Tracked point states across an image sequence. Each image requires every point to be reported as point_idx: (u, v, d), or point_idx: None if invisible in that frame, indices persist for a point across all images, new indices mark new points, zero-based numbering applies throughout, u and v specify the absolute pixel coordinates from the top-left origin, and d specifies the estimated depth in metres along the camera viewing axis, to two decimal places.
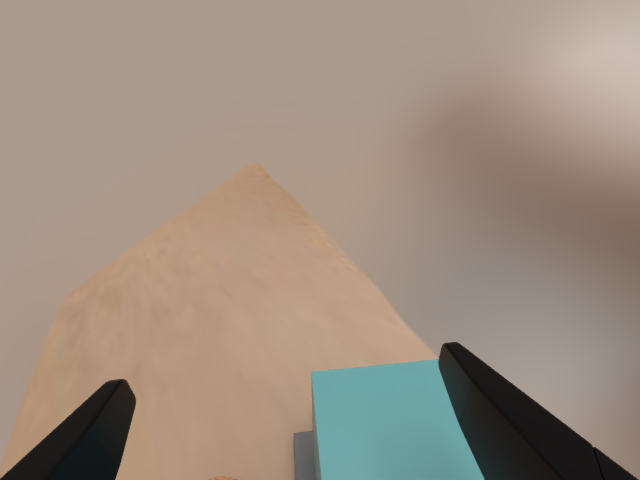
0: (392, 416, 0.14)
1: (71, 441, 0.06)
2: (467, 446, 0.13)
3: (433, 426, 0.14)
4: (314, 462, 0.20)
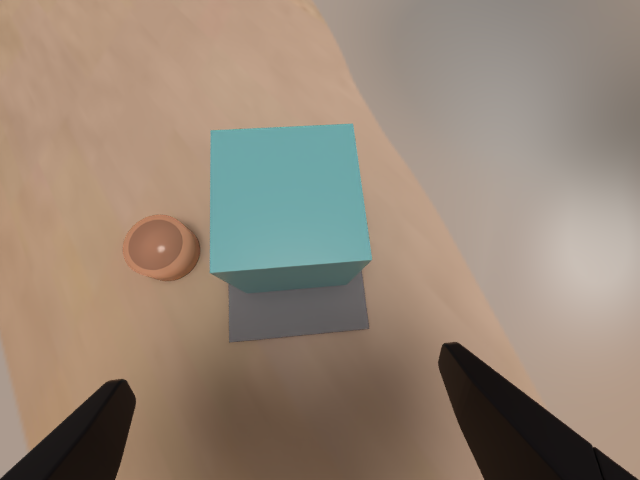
0: (283, 173, 0.15)
1: (71, 441, 0.06)
2: (343, 199, 0.15)
3: (319, 183, 0.15)
4: None
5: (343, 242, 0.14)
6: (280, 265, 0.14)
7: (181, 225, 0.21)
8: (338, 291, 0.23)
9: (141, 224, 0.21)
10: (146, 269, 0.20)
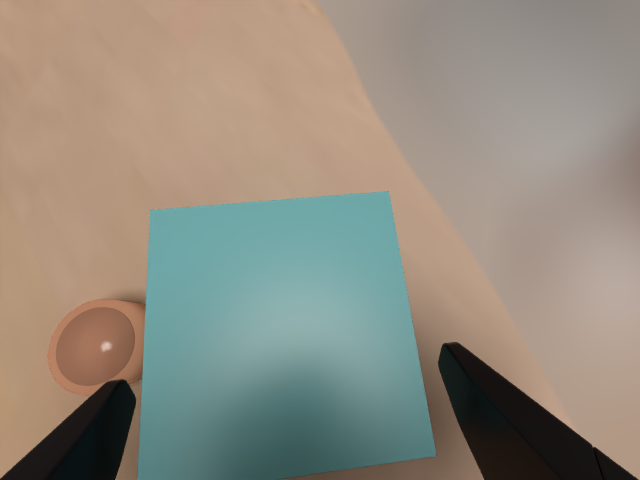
0: (274, 287, 0.09)
1: (71, 441, 0.06)
2: (380, 334, 0.08)
3: (336, 303, 0.09)
4: None
5: (384, 420, 0.08)
6: (268, 476, 0.07)
7: (133, 314, 0.15)
8: None
9: (76, 315, 0.15)
10: (80, 384, 0.14)
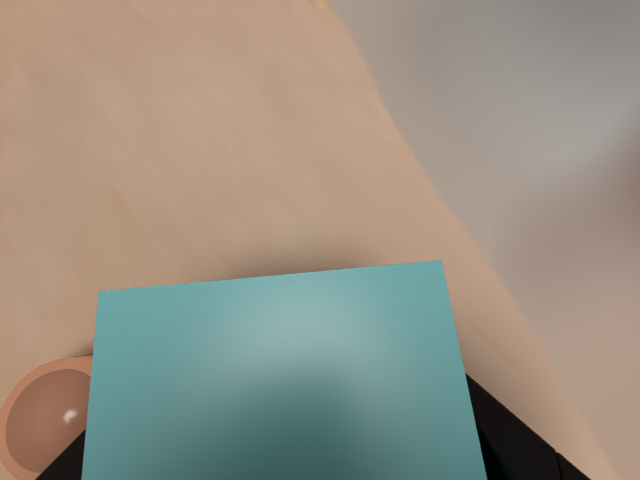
0: (278, 414, 0.06)
1: None
2: None
3: (371, 440, 0.06)
4: None
5: None
6: None
7: None
8: None
9: (33, 379, 0.12)
10: (35, 471, 0.11)
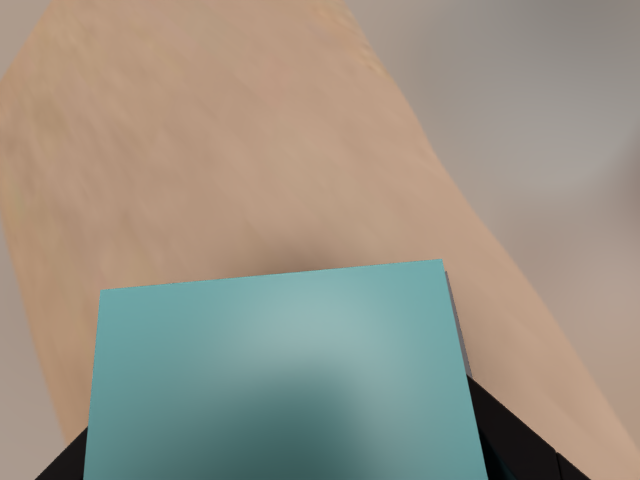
0: (279, 412, 0.06)
1: None
2: None
3: (371, 437, 0.06)
4: None
5: None
6: None
7: None
8: None
9: None
10: None
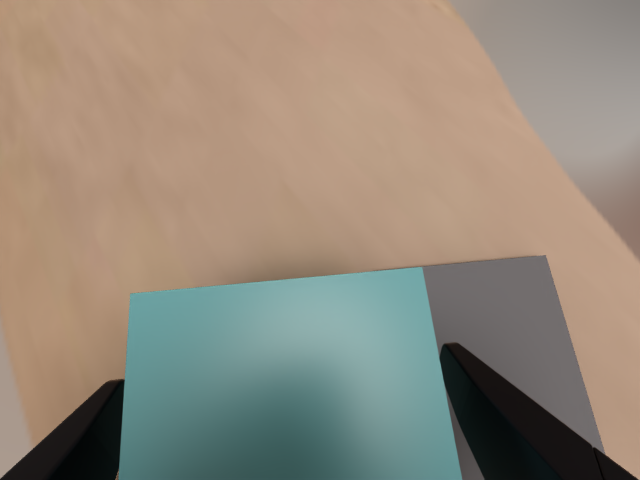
0: (282, 396, 0.07)
1: (71, 441, 0.06)
2: (415, 459, 0.07)
3: (360, 418, 0.07)
4: None
5: None
6: None
7: None
8: None
9: None
10: None
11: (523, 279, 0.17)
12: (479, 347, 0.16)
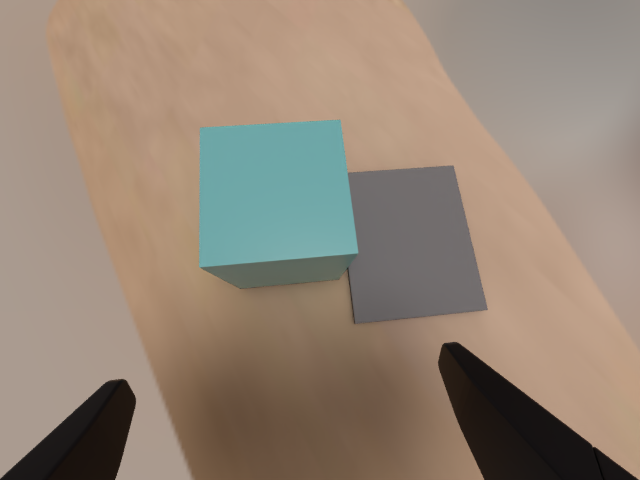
0: (271, 169, 0.15)
1: (71, 441, 0.06)
2: (331, 194, 0.15)
3: (306, 178, 0.15)
4: None
5: (330, 236, 0.15)
6: (268, 259, 0.14)
7: None
8: (454, 273, 0.23)
9: None
10: None
11: (436, 180, 0.25)
12: (404, 220, 0.24)
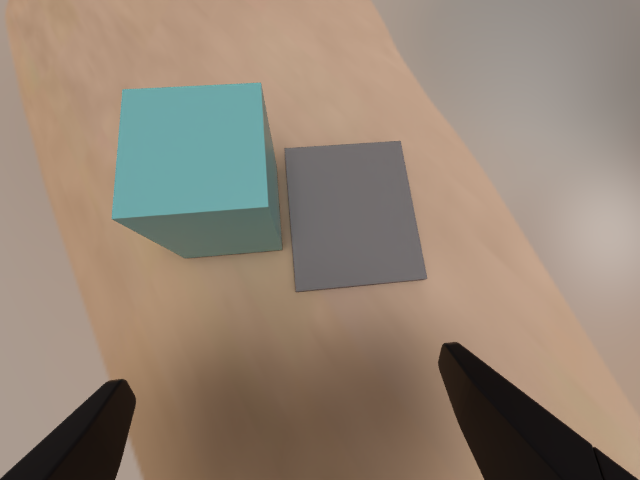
0: (189, 128, 0.16)
1: (71, 441, 0.06)
2: (246, 152, 0.16)
3: (223, 137, 0.16)
4: None
5: (242, 190, 0.15)
6: (179, 211, 0.15)
7: None
8: (396, 244, 0.24)
9: None
10: None
11: (383, 154, 0.26)
12: (349, 193, 0.25)
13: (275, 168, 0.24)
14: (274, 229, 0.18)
